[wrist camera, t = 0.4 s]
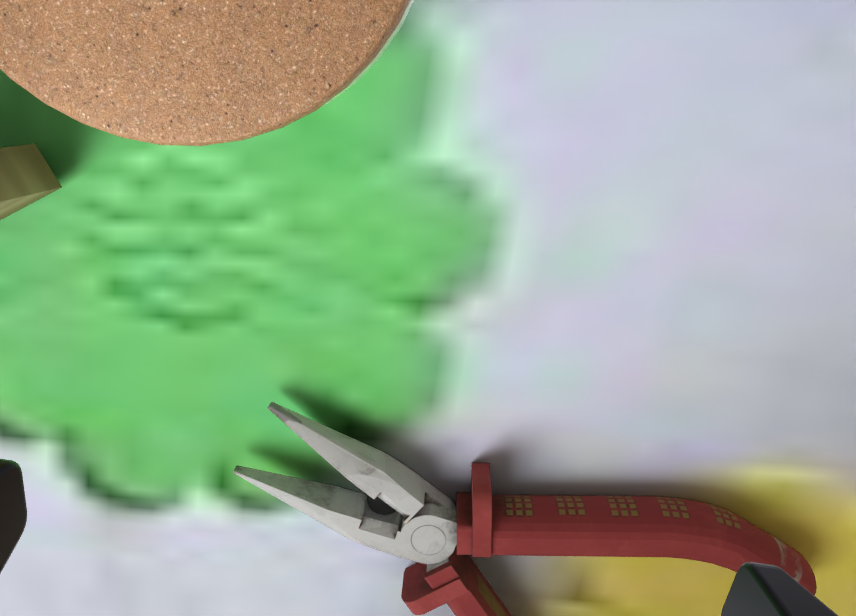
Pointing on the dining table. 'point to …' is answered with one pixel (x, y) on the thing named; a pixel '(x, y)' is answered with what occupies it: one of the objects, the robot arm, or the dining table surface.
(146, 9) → the lidded jar
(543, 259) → the dining table surface
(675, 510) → the pliers
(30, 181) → the wooden slab
